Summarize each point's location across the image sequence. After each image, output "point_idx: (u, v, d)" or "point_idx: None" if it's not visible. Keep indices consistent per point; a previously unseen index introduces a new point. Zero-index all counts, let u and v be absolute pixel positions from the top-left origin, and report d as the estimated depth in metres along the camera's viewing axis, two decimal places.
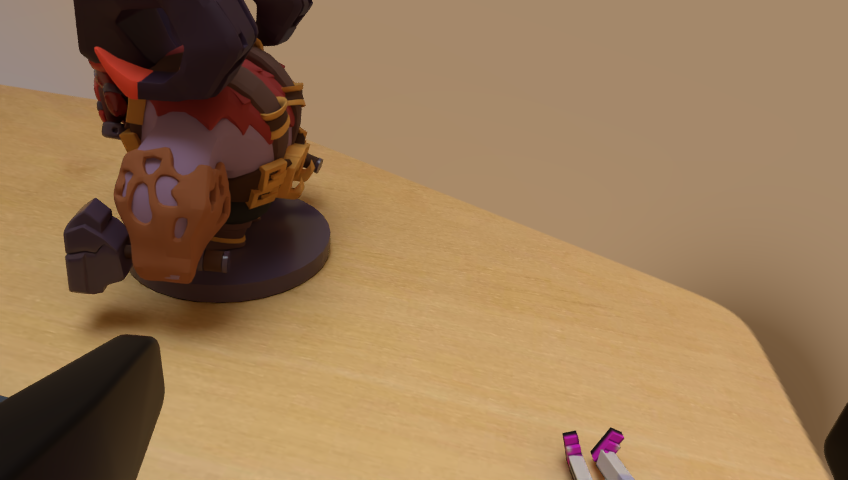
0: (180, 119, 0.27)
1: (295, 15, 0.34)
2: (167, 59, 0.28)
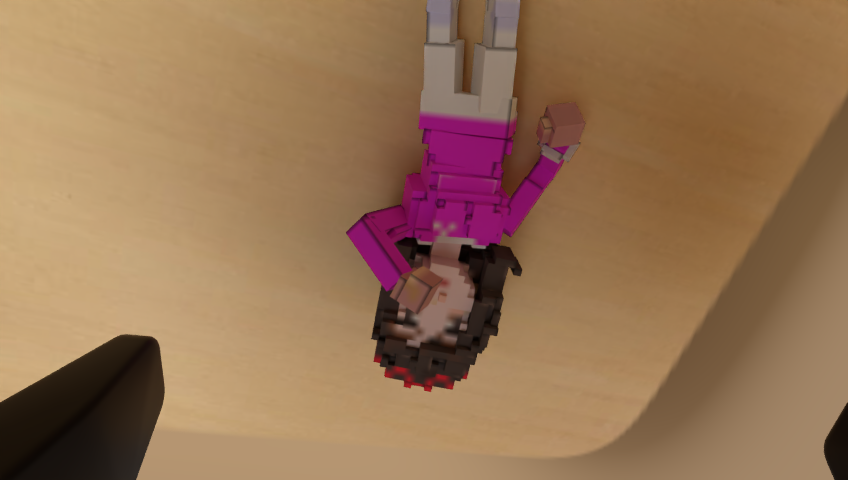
0: None
1: None
2: None
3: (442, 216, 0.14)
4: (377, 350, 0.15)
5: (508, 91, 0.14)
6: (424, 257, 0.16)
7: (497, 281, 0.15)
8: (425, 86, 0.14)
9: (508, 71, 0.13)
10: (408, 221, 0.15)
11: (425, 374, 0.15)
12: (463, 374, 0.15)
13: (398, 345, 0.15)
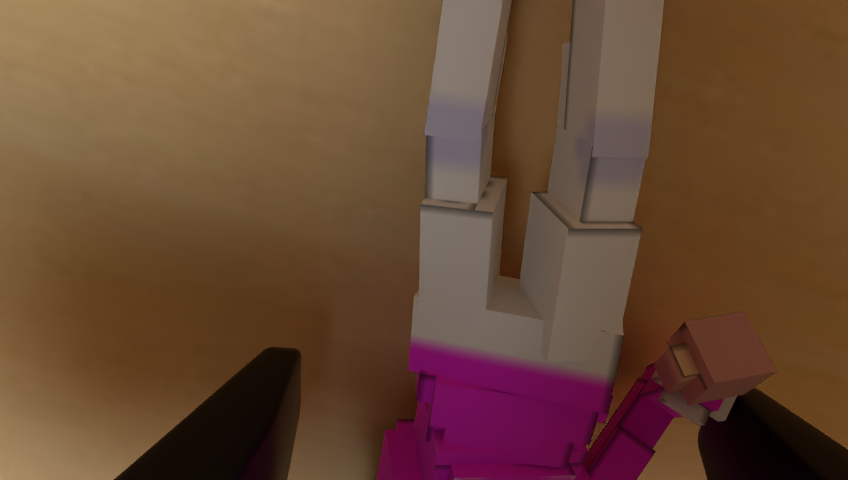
0: None
1: None
2: None
3: None
4: None
5: (615, 316, 0.06)
6: None
7: None
8: (423, 291, 0.06)
9: (618, 278, 0.06)
10: None
11: None
12: None
13: None
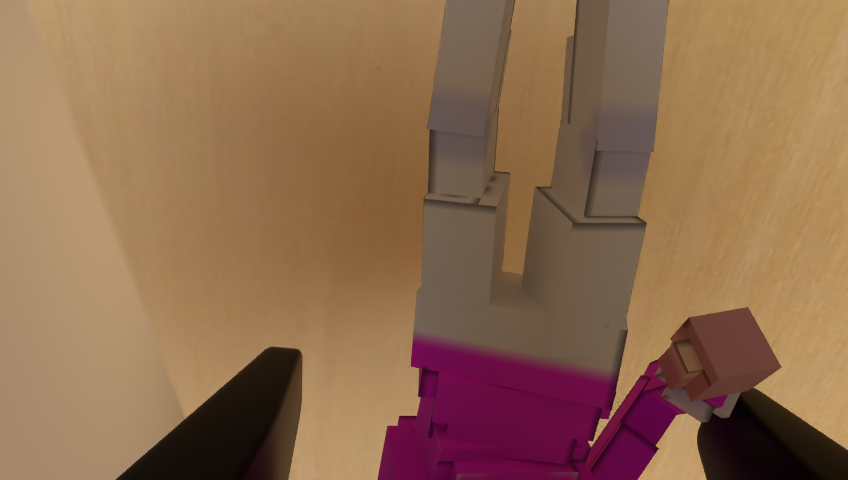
0: None
1: None
2: None
3: None
4: None
5: (618, 312, 0.06)
6: None
7: None
8: (425, 286, 0.06)
9: (622, 272, 0.06)
10: None
11: None
12: None
13: None
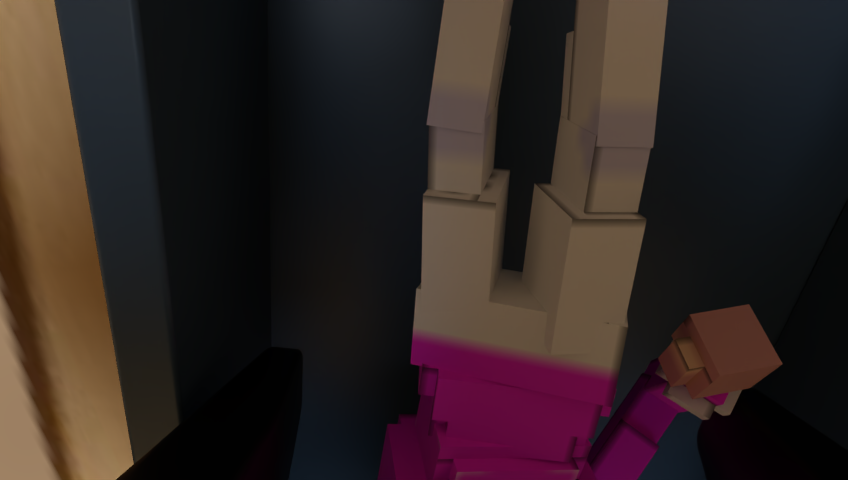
0: None
1: None
2: None
3: None
4: None
5: (619, 308, 0.06)
6: None
7: None
8: (425, 283, 0.06)
9: (622, 269, 0.06)
10: None
11: None
12: None
13: None
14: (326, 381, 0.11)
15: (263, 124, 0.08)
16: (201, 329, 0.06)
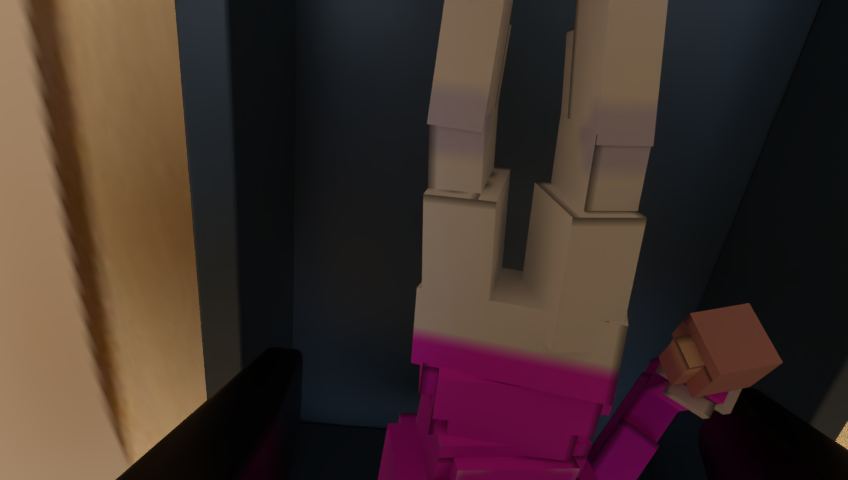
0: None
1: None
2: None
3: None
4: None
5: (620, 306, 0.06)
6: None
7: None
8: (426, 282, 0.06)
9: (622, 267, 0.06)
10: None
11: None
12: None
13: None
14: (338, 308, 0.13)
15: (291, 86, 0.11)
16: (251, 230, 0.09)
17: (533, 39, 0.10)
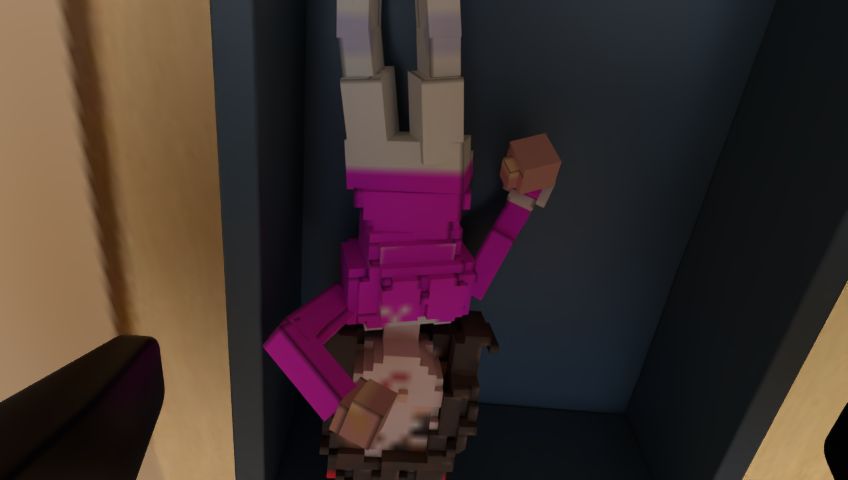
0: None
1: None
2: None
3: (390, 299, 0.11)
4: (329, 466, 0.12)
5: (458, 132, 0.10)
6: (376, 341, 0.12)
7: (470, 363, 0.12)
8: (348, 135, 0.11)
9: (455, 108, 0.10)
10: (348, 306, 0.12)
11: None
12: None
13: (354, 459, 0.12)
14: None
15: (302, 72, 0.12)
16: (270, 197, 0.10)
17: (520, 30, 0.12)
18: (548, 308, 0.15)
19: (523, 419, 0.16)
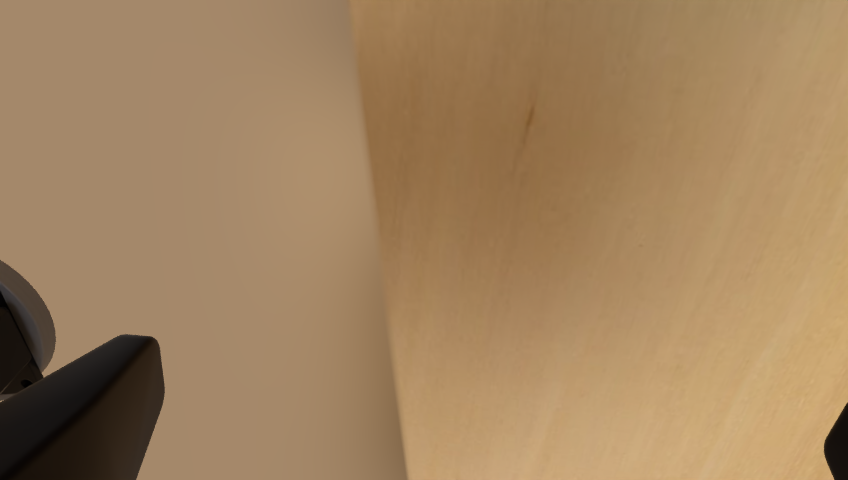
0: None
1: None
2: None
3: None
4: None
5: None
6: None
7: None
8: None
9: None
10: None
11: None
12: None
13: None
14: None
15: None
16: None
17: None
18: None
19: None
